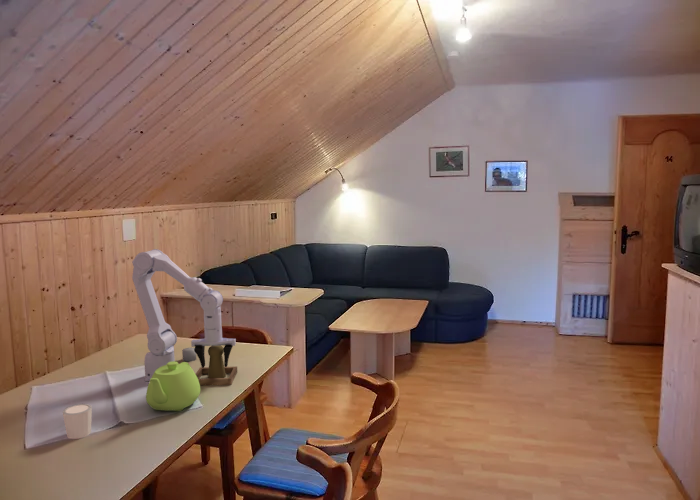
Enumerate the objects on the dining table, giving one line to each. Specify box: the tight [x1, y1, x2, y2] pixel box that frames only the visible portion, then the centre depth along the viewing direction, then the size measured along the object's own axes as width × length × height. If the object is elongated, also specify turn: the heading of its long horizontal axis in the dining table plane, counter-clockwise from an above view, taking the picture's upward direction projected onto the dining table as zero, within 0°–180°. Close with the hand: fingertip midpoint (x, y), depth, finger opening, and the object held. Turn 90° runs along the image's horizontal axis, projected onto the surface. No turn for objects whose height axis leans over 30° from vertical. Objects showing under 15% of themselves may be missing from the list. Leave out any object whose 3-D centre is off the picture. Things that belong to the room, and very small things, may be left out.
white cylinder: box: [62, 403, 93, 440], centre depth 137 cm, size 7×7×7 cm
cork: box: [207, 345, 227, 379], centre depth 178 cm, size 6×6×11 cm
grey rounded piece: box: [181, 347, 198, 363], centre depth 197 cm, size 5×5×4 cm
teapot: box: [145, 360, 201, 412], centre depth 154 cm, size 22×15×13 cm
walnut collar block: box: [195, 366, 238, 387], centre depth 177 cm, size 13×12×2 cm
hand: (214, 366), depth 176 cm, fingers open, 7 cm apart
